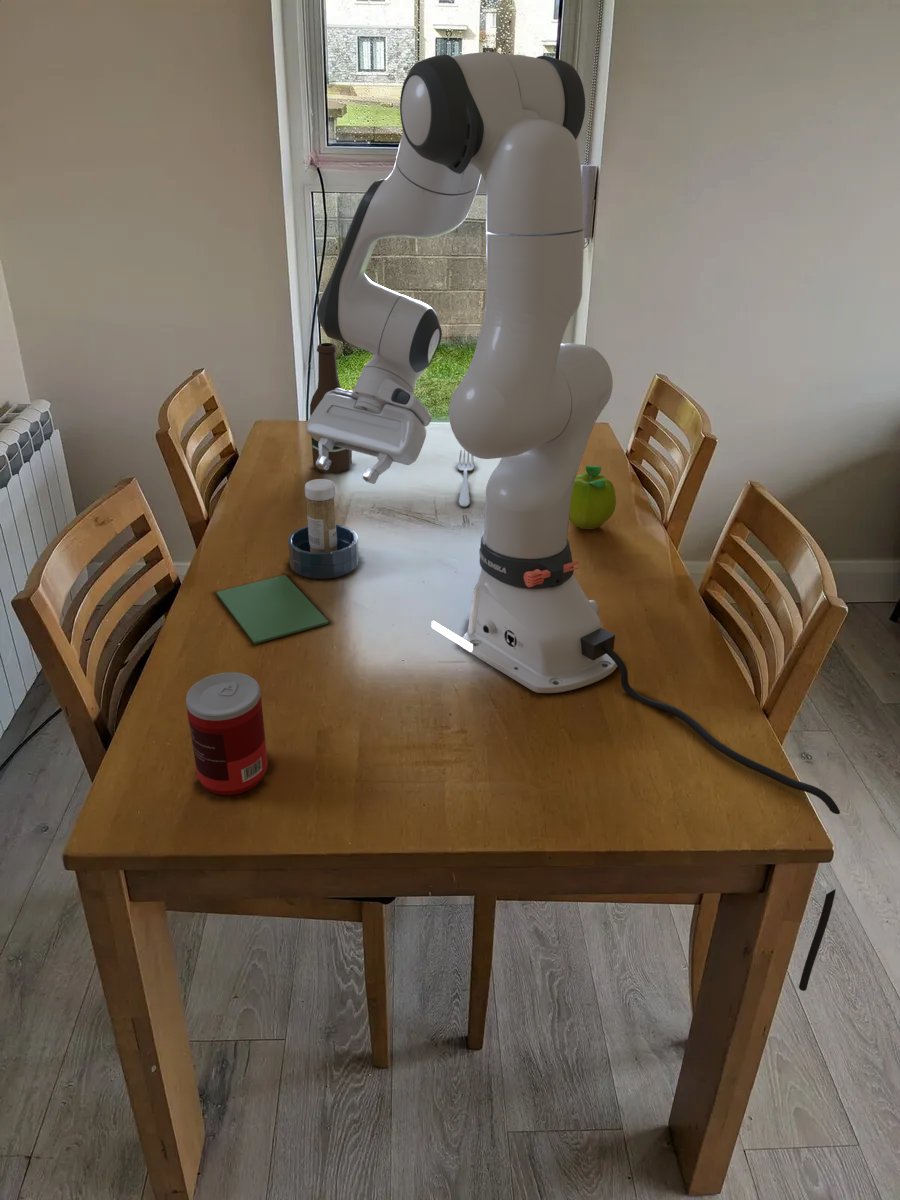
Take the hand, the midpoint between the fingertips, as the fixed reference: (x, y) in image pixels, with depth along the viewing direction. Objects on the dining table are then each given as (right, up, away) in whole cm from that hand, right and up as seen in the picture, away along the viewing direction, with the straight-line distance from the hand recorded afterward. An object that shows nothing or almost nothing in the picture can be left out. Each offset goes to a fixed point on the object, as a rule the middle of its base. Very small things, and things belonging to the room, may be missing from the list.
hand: (344, 474), depth 144 cm
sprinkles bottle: (-3, -14, +2) cm, 14 cm away
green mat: (-10, -21, -10) cm, 25 cm away
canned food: (-8, -39, -41) cm, 57 cm away
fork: (+19, +3, +33) cm, 38 cm away
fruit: (+40, -7, +16) cm, 44 cm away
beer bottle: (-7, +7, +38) cm, 39 cm away
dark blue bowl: (-3, -14, +2) cm, 14 cm away
